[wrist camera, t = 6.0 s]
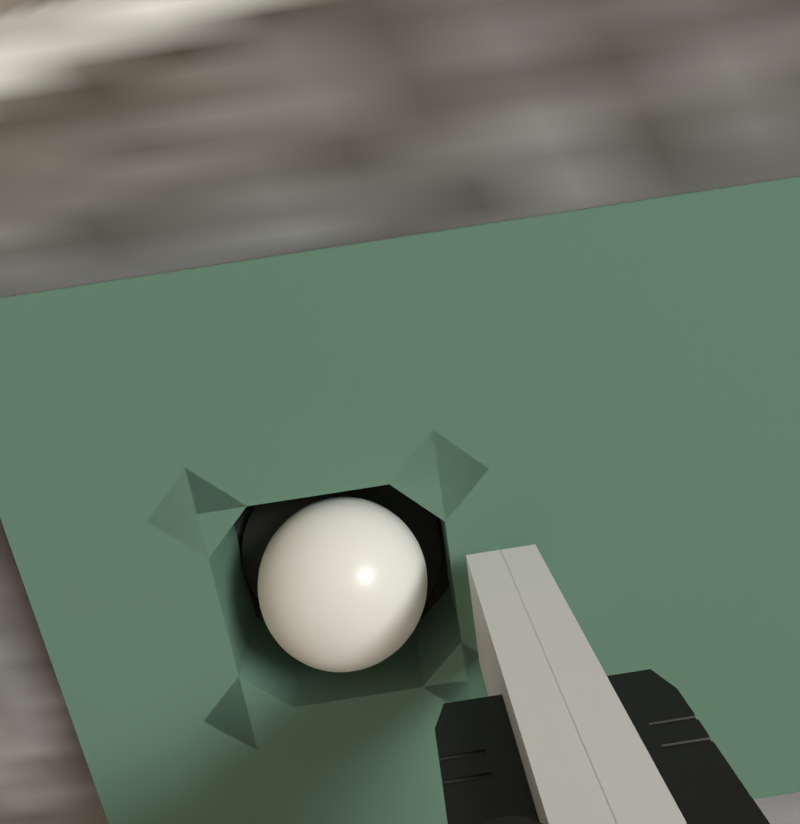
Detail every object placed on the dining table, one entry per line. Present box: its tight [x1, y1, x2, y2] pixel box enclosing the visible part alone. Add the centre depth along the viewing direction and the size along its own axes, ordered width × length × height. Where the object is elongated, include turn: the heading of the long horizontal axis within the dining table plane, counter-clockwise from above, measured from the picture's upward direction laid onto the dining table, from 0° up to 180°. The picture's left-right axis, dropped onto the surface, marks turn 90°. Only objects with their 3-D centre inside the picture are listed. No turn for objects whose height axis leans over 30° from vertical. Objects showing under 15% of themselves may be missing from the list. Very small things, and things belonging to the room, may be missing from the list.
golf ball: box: [258, 497, 428, 672], centre depth 15 cm, size 4×4×4 cm
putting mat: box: [0, 176, 800, 824], centre depth 16 cm, size 26×16×2 cm, turn 98°
